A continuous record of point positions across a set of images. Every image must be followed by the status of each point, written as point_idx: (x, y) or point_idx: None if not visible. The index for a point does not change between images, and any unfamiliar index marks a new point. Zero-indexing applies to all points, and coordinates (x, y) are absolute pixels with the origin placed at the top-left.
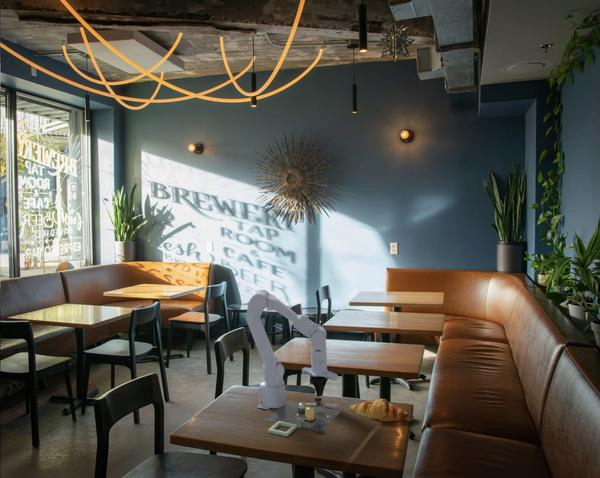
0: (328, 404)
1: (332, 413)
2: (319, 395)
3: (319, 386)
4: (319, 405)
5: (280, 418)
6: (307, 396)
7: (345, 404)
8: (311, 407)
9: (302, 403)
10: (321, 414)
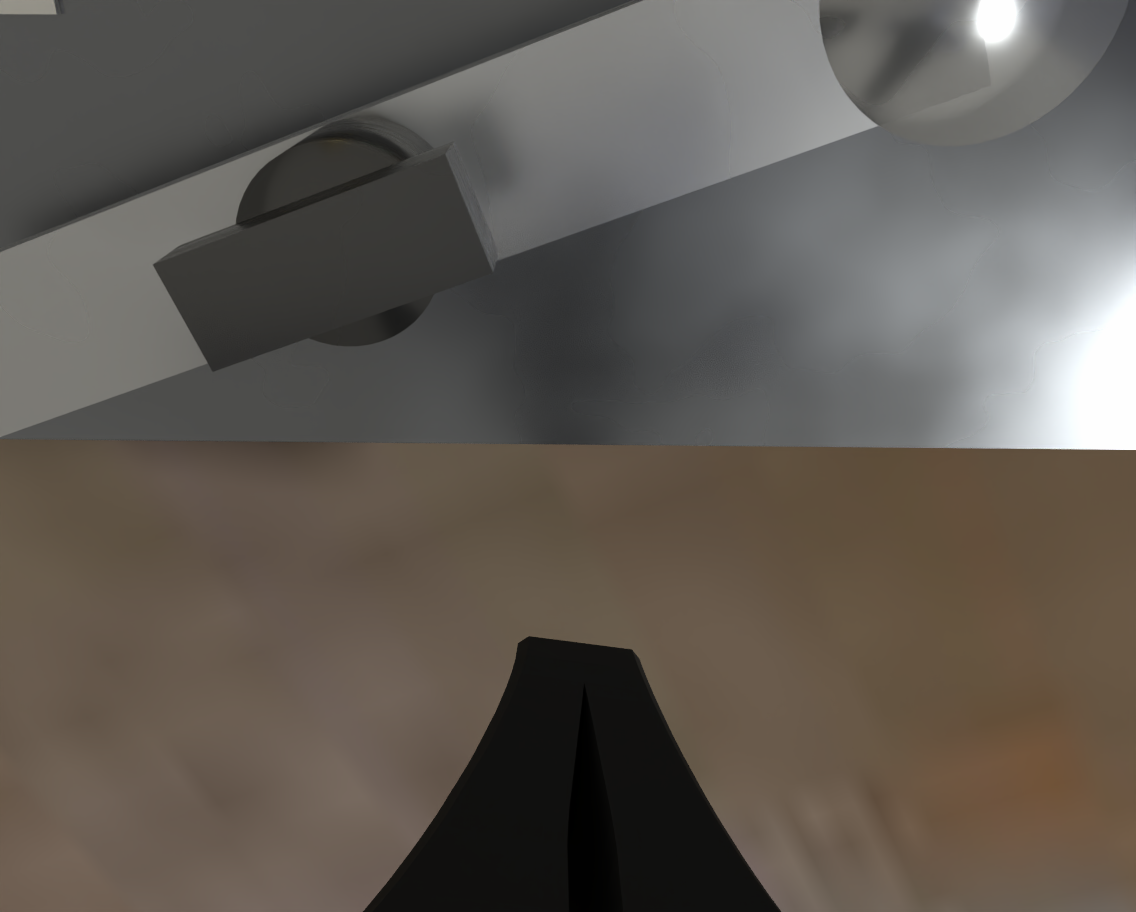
0: (60, 333)
1: (5, 205)
2: (524, 651)
3: (434, 900)
4: (288, 144)
5: None
6: (1035, 854)
7: (175, 803)
8: None
9: (953, 14)
10: (229, 3)
